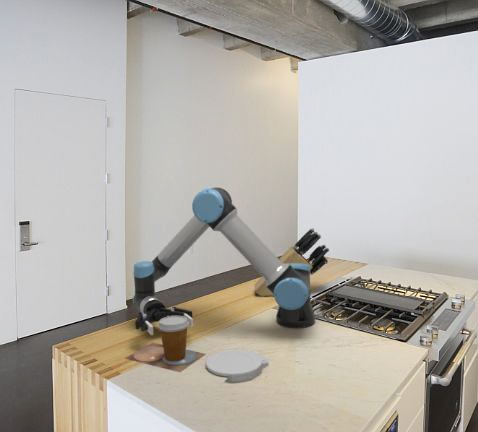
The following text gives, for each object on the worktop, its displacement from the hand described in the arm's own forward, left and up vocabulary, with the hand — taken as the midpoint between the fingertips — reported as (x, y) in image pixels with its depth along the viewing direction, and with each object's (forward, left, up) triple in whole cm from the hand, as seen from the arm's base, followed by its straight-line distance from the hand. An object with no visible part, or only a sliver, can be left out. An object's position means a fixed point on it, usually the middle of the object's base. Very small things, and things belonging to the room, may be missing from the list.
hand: (172, 326), depth 143 cm
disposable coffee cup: (-4, +4, -8) cm, 10 cm away
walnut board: (0, +4, -10) cm, 11 cm away
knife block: (-8, -82, -10) cm, 83 cm away
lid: (-23, -1, -10) cm, 26 cm away
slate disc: (-5, +3, -8) cm, 10 cm away
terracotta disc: (+5, +5, -8) cm, 11 cm away
